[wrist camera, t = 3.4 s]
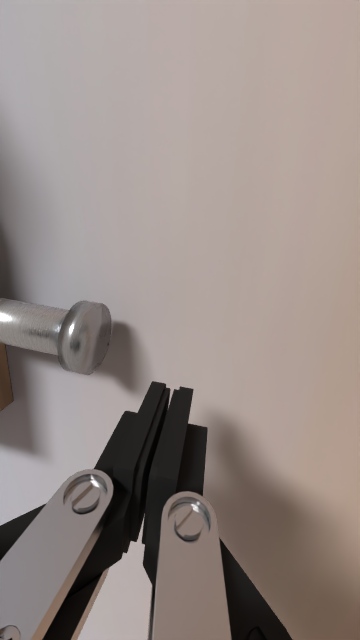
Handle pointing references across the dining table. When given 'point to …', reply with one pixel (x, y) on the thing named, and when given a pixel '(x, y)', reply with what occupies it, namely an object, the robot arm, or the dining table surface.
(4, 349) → the block
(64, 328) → the pin
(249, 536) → the dining table surface
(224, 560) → the robot arm
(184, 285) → the dining table surface
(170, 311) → the dining table surface
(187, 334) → the dining table surface
